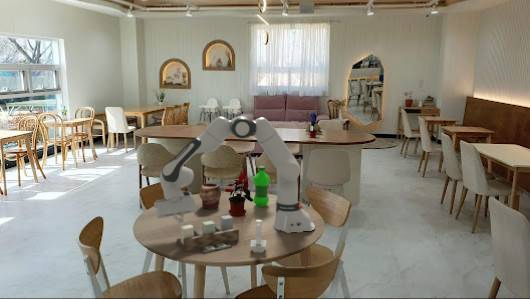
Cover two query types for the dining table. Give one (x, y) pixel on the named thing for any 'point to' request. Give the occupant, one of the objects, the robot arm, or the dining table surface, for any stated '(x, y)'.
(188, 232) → the cream rectangular block
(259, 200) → the plastic bottle
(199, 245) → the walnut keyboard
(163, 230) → the dining table surface
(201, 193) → the decorative planter
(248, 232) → the dining table surface
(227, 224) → the pale blue upright block
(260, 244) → the white upright post stand
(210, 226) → the sage key
